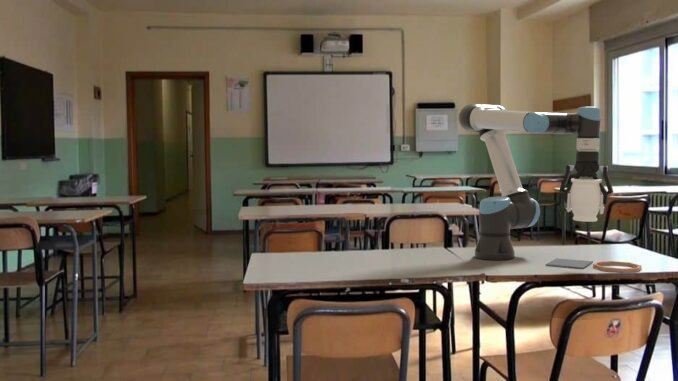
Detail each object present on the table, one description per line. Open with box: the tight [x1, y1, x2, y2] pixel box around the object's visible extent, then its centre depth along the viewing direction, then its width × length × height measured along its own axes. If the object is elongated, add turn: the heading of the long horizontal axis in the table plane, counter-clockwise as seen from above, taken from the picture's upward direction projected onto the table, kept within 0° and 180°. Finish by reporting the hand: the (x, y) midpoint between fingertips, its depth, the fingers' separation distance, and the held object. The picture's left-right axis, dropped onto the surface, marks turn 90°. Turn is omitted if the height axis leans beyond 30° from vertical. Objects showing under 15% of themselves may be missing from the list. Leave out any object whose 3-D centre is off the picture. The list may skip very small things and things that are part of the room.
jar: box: [569, 177, 603, 223], centre depth 221 cm, size 11×10×15 cm
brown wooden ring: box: [592, 260, 642, 273], centre depth 216 cm, size 15×15×1 cm
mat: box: [545, 258, 594, 270], centre depth 225 cm, size 13×15×1 cm
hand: (585, 212), depth 221 cm, fingers closed on jar, 10 cm apart
